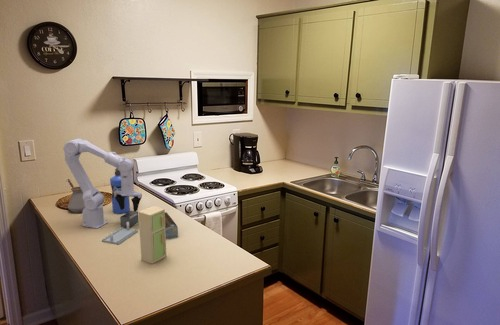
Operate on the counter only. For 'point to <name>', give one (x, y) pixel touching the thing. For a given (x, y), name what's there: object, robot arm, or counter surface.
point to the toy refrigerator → (152, 234)
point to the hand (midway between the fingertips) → (129, 210)
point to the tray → (120, 235)
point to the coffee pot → (76, 199)
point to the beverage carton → (170, 227)
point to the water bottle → (115, 186)
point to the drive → (129, 219)
